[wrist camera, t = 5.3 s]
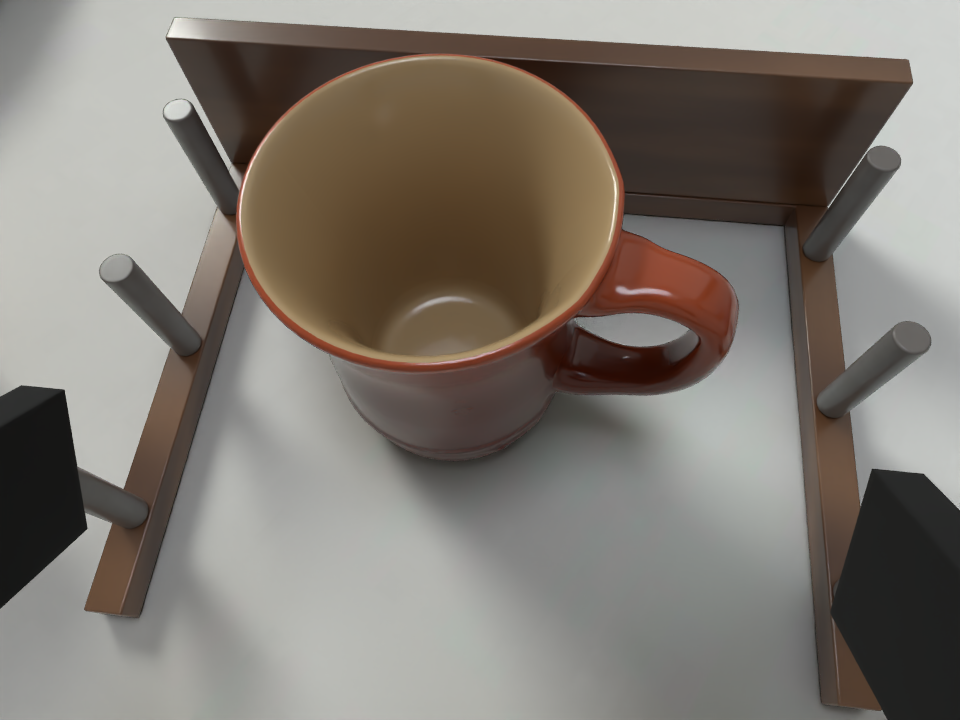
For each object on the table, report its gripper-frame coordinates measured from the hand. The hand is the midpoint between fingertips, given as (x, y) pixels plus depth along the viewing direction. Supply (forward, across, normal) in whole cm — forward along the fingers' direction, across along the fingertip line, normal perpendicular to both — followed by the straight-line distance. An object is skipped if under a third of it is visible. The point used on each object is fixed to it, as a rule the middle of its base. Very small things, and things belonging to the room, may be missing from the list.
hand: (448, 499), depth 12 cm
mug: (+13, 0, -4) cm, 14 cm away
